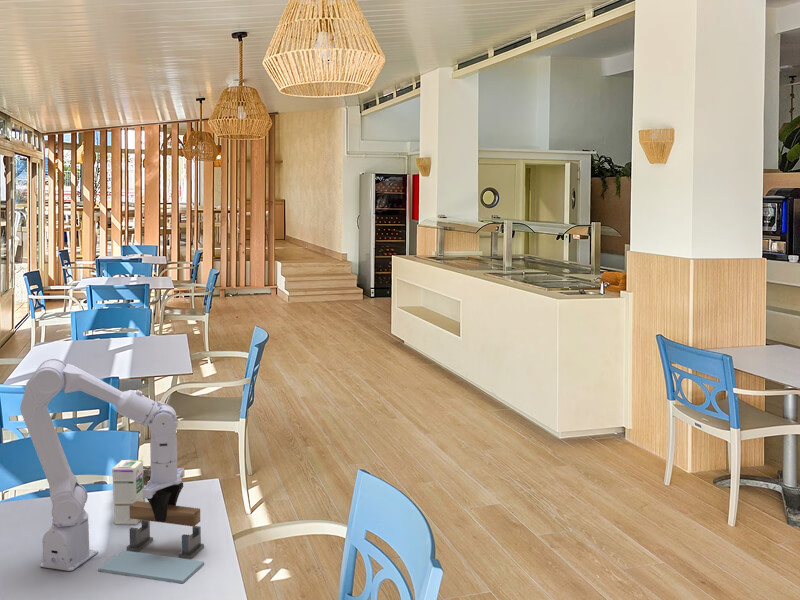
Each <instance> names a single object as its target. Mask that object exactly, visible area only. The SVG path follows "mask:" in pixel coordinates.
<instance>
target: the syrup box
mask: <svg viewBox="0 0 800 600" xmlns="http://www.w3.org/2000/svg"><path fill="white" fill-rule="evenodd" d="M111 471H112V473H111V475H112V492H113V493H112V495H113V497H112V498H113V517H114V524H115V525H138V524H139V523H140V521H141V520H138V519H131V518H130V507H129V506H130V505H131V504H133V503H134V502H136V501H142V502H146V501H145V500H146V498H142V489H143V488H145V477H144V474H145V473H144V461H143V460H138V459H121V460H120V461H119V462H118V463H117V464H115V466H113V467H112V468H111Z"/></svg>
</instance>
